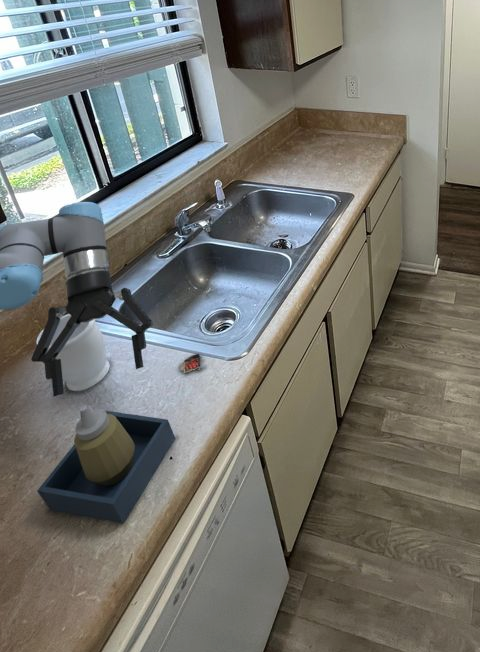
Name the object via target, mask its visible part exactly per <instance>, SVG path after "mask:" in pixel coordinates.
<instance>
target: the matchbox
mask: <svg viewBox="0 0 480 652" xmlns="http://www.w3.org/2000/svg"><path fill="white" fill-rule="evenodd" d="M179 369H180V371H181V372H182V371H183V373H184V374H186V373H189V372H191V371H195V370H196V369H197V371H200V370H201V369H202V357H201V355H200V354H199V353H196V354H193V355H191V356H189V357H187V358H185V359H184V360H183V362H182V363H181V364H180V365H179Z"/></svg>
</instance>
